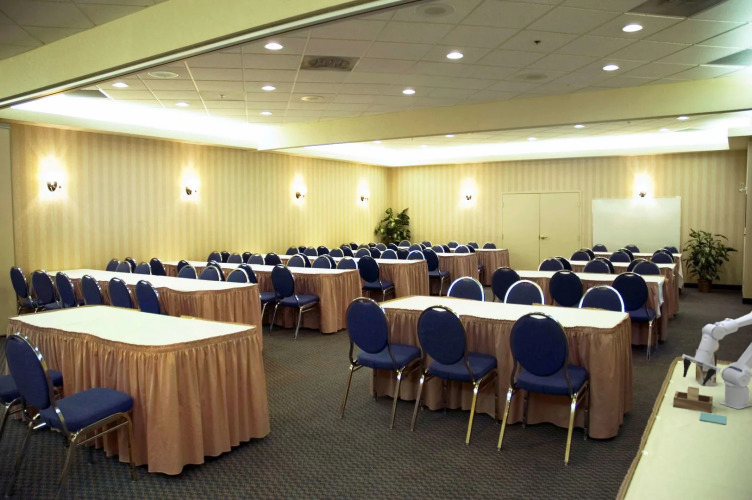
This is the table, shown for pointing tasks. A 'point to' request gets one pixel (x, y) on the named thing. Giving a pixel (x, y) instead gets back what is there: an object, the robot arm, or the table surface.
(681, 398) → the walnut crate
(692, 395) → the maple block
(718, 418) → the teal mat
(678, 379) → the table surface
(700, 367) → the coffee box
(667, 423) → the table surface
